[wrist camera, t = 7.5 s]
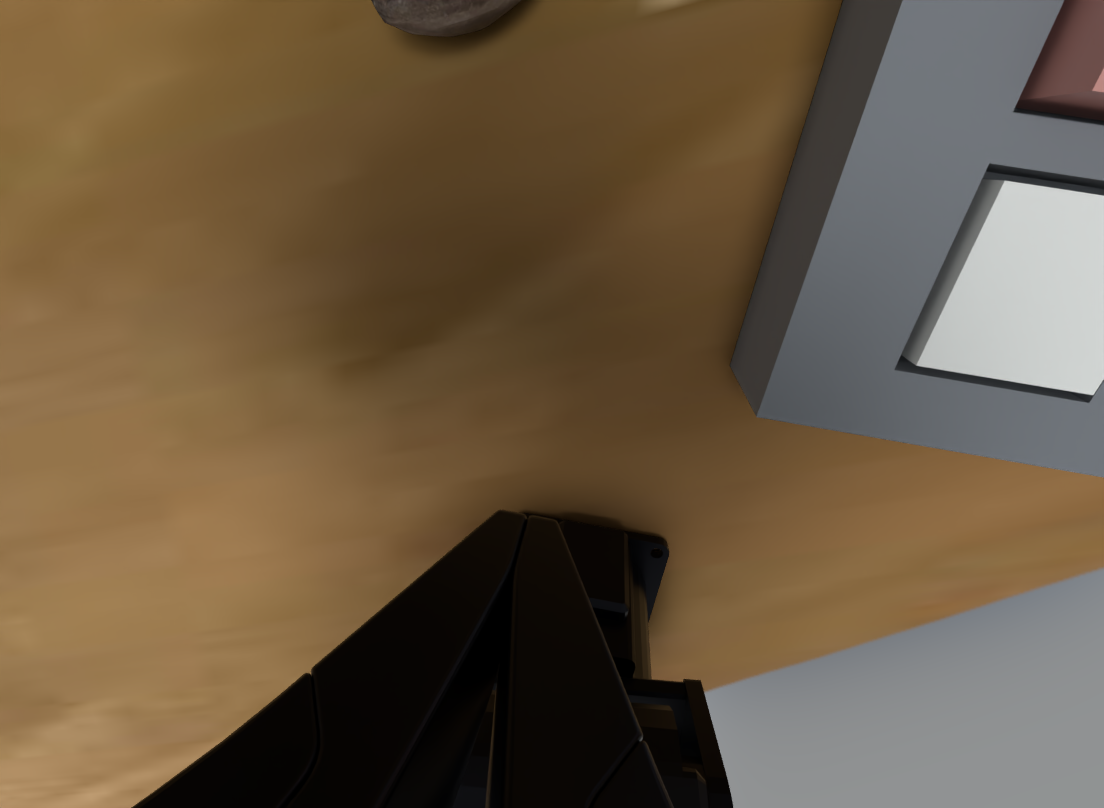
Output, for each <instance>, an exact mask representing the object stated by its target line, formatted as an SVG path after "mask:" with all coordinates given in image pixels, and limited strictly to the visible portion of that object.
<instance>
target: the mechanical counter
mask: <svg viewBox="0 0 1104 808" xmlns="http://www.w3.org/2000/svg"><path fill="white" fill-rule="evenodd" d="M520 1H521V0H372V2H373V4H374V6H375V8H376V10H377V12H378V13H379V15H380V16H381V18H382V19H383V21H384V22H385V23H387V24H389V25H392V26H394V27H396V28H399V29H401V30H403V31H406V32H408V33H411V34H417V35H428V36H447V37H453V36H457V35H462V34H466V33H471V32H475V31H479V30H481V29H483V28H485V27H487V26H489V25H490V24H492V23H493V22H494V21H496V20H497V19H498V18H500V17H501V16H503V15H504V14H505V13H507V12H508V11H509V10H510V9H512V8H513V7H514V6H515V5H517V4H518V3H519V2H520Z"/></svg>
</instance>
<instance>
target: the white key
mask: <svg viewBox="0 0 1104 808" xmlns="http://www.w3.org/2000/svg"><path fill="white" fill-rule="evenodd" d="M901 355H902V356H904V357H905V358H906V359H908V360H909V361H910V362H912V363H913V364H915V365H916V366H922V367H928V368H934V369H940V370H945V371H951V372H957V373H963V374H969V375H975V376H981V377H987V378H993V379H999V380H1005V381H1011V382H1017V383H1023V384H1029V385H1035V386H1041V387H1047V388H1053V389H1059V390H1065V391H1071V392H1077V393H1083V394H1089V395H1094V393H1095V392H1096V390H1097V389H1098V387H1099V386H1100V384H1101V383H1102V381H1103V380H1104V196H1103V195H1096V194H1090V193H1083V192H1077V191H1070V190H1064V189H1057V188H1050V187H1044V186H1037V185H1031V184H1024V183H1017V182H1011V181H1004V180H990V179H982V180H981V182H980V185H979V187H978V189H977V191H976V193H975V195H974V198H973V200H972V202H971V204H970V206H969V208H968V211H967V213H966V215H965V217H964V219H963V222H962V224H961V226H960V228H959V230H958V232H957V235H956V237H955V239H954V241H953V243H952V245H951V248H950V250H949V252H948V254H947V256H946V258H945V261H944V263H943V265H942V267H941V269H940V271H939V274H938V276H937V278H936V280H935V282H934V284H933V287H932V289H931V291H930V293H929V295H928V297H927V300H926V302H925V304H924V306H923V308H922V311H921V313H920V315H919V317H918V319H917V321H916V324H915V326H914V328H913V330H912V332H911V334H910V337H909V339H908V341H907V343H906V345H905V347H904V350H903V352H902V354H901Z"/></svg>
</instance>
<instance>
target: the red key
mask: <svg viewBox="0 0 1104 808" xmlns="http://www.w3.org/2000/svg"><path fill="white" fill-rule="evenodd" d="M1015 108H1020V109H1027V110H1034V111H1040V112H1047V113H1054V114H1061V115H1068V116H1075V117H1081V118H1088V119H1095V120H1102V121H1104V0H1064V2H1063V4H1062V7H1061V9H1060V11H1059V13H1058V15H1057V17H1056V20H1055V22H1054V24H1053V26H1052V28H1051V30H1050V33H1049V35H1048V37H1047V39H1046V41H1045V44H1044V46H1043V48H1042V50H1041V52H1040V54H1039V57H1038V59H1037V61H1036V63H1035V65H1034V67H1033V70H1032V72H1031V74H1030V76H1029V78H1028V80H1027V83H1026V85H1025V87H1024V89H1023V91H1022V93H1021V96H1020V98H1019V100H1018V102H1017V104H1016V106H1015Z"/></svg>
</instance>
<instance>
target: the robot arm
mask: <svg viewBox="0 0 1104 808" xmlns="http://www.w3.org/2000/svg"><path fill="white" fill-rule="evenodd" d="M656 548H658V549H661V550H660V551H658V552H655V551H652V550H653V549H656ZM668 557H669V548H668V544H667V542H666V541H665V540H664V539H662V538H659V537H654V536H648V535H643V534H638V533H632V532H627V531H621V530H616V529H611V528H605V527H600V526H594V525H589V524H584V523H578V522H573V521H567V520H562V519H556V518H551V517H546V516H540V515H535V514H529V513H517V512H511V511H506V510H499V511H497V512H495V513H494V514H493V515H492V516H491V517H489V518H488V519H487V520H486V521H485V522H483V523H482V524H481V525H480V526H479V527H478V528H476V529H475V530H474V531H473V532H472V533H470V534H469V535H468V536H467V537H466V538H465V539H463V540H462V541H461V542H460V543H459V544H457V545H456V546H455V547H454V548H453V549H452V550H450V551H449V552H448V553H447V554H446V555H445V556H443V557H442V558H441V559H440V560H439V561H437V562H436V563H435V564H434V565H433V566H432V567H430V568H429V569H428V570H427V571H426V572H424V573H423V574H422V575H421V576H420V577H419V578H417V579H416V580H415V581H414V582H413V583H411V584H410V585H409V586H408V587H407V588H406V589H404V590H403V591H402V592H401V593H400V594H398V595H397V596H396V597H395V598H394V599H393V600H391V601H390V602H389V603H388V604H387V605H386V606H384V607H383V608H382V609H381V610H380V611H378V612H377V613H376V614H375V615H374V616H373V617H371V618H370V619H369V620H368V621H367V622H365V623H364V624H363V625H362V626H361V627H360V628H358V629H357V630H356V631H355V632H354V633H352V634H351V635H350V636H349V637H348V638H347V639H345V640H344V641H343V642H342V643H341V644H339V645H338V646H337V647H336V648H335V649H334V650H332V651H331V652H330V653H329V654H328V655H327V656H325V657H324V658H323V659H322V660H321V661H319V662H318V663H317V664H316V665H315V666H314V667H313V668H312V669H311V674H309V673H305V674H303V675H302V676H301V677H300V678H299V679H298V680H296V681H295V682H294V683H293V684H292V685H291V686H289V687H288V688H287V689H286V690H285V691H284V692H282V693H281V694H280V695H279V696H278V697H276V698H275V699H274V700H273V701H272V702H270V703H269V704H268V705H267V706H265V707H264V708H263V709H262V710H260V711H259V712H258V713H257V714H255V715H254V716H253V717H252V718H251V719H249V720H248V721H247V722H246V723H244V724H243V725H242V726H241V727H239V728H238V729H237V730H236V731H234V732H233V733H232V734H231V735H229V736H228V737H227V738H226V739H225V740H223V741H222V742H221V743H219V744H218V745H217V746H215V747H214V748H212V749H211V750H210V751H208V752H207V753H206V754H204V755H203V756H202V757H200V758H199V759H198V760H196V761H195V762H194V763H192V764H191V765H189V766H188V767H187V768H185V769H184V770H183V771H181V772H180V773H179V774H177V775H176V776H175V777H173V778H172V779H171V780H169V781H168V782H166V783H165V784H164V785H162V786H161V787H160V788H158V789H157V790H156V791H154V792H153V793H151V794H150V795H149V796H147V797H146V798H144V799H143V800H142V801H140V802H139V803H137V804H136V805H135V806H133V807H132V808H733V803H732V797H731V793H730V788H729V784H728V780H727V776H726V772H725V768H724V765H723V761H722V757H721V754H720V750H719V746H718V743H717V739H716V735H715V731H714V728H713V724H712V720H711V717H710V713H709V709H708V706H707V702H706V698H705V694H704V691H703V687H702V683H701V680H690V679H683V682H676V681H664V680H652V679H651V663H650V647H649V630H648V622H649V618H650V615H651V612H652V609H653V605H654V602H655V599H656V596H657V593H658V589H659V586H660V583H661V580H662V576H663V573H664V570H665V567H666V563H667V560H668Z"/></svg>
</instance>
